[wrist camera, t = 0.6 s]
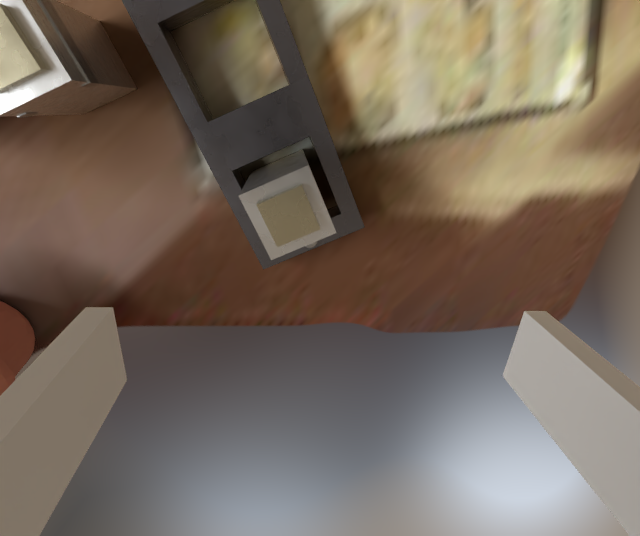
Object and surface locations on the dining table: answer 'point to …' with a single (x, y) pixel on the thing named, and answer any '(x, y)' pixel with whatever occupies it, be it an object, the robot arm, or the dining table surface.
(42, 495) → the robot arm
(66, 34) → the block
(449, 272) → the dining table surface
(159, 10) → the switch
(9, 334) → the decorative flower
